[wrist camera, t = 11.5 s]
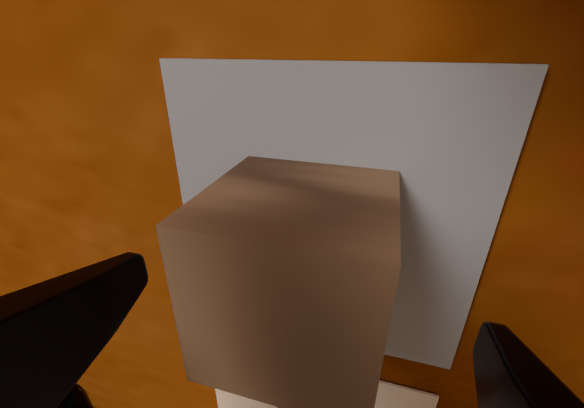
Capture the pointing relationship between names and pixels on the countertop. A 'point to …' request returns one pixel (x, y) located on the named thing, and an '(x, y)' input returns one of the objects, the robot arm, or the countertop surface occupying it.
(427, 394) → the card
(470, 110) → the grey mat
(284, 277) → the walnut block
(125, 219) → the countertop surface
